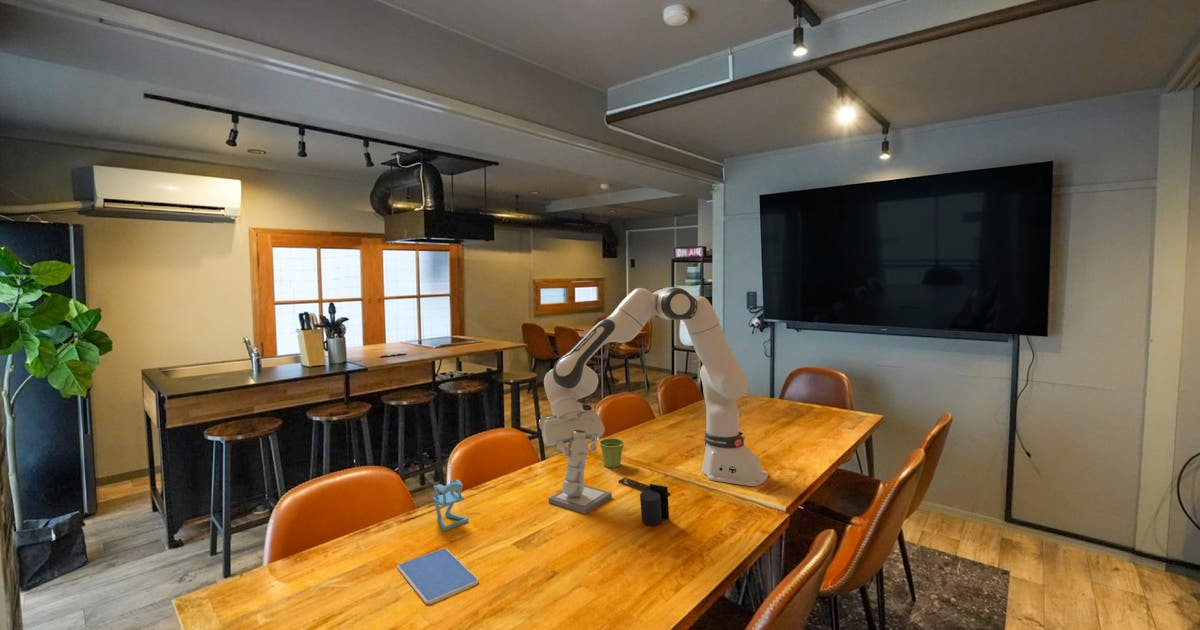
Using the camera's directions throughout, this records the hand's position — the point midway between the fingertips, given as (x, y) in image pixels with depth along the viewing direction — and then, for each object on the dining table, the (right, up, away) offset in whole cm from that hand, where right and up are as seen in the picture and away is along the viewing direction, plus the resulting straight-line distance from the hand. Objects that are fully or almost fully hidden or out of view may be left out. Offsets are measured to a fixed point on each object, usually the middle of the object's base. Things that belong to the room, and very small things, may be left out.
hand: (580, 452), depth 158 cm
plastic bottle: (-3, -14, 0) cm, 14 cm away
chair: (-37, -17, -11) cm, 42 cm away
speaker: (+21, -16, -13) cm, 30 cm away
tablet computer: (-32, -19, -38) cm, 53 cm away
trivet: (0, -15, +2) cm, 15 cm away
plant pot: (+10, -13, +31) cm, 35 cm away
